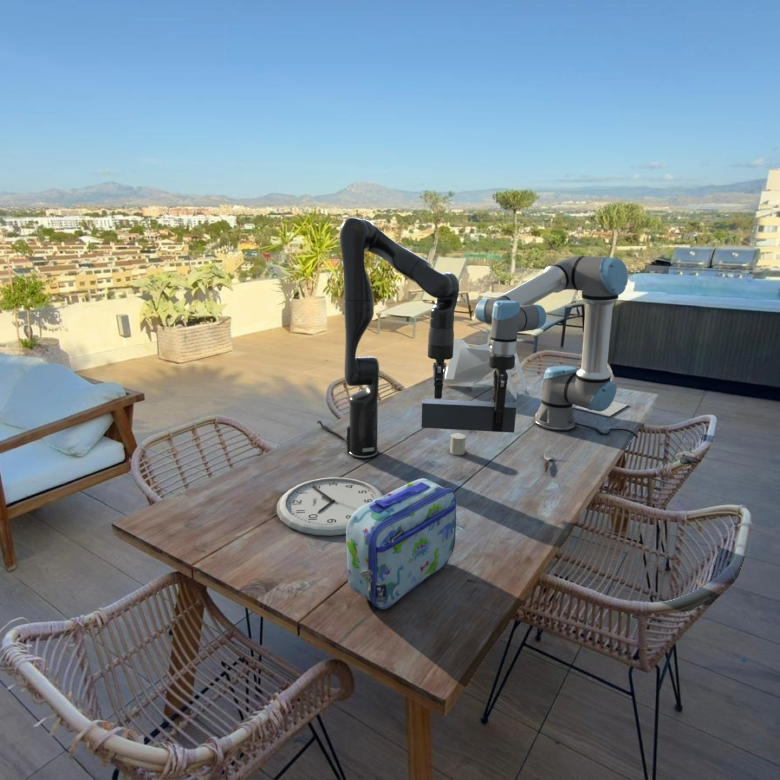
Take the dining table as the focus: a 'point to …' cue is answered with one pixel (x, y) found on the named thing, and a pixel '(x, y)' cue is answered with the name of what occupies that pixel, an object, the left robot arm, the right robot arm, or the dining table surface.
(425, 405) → the bar
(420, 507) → the lunch box
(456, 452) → the off-white cylinder
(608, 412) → the invitation card
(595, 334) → the right robot arm
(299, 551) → the dining table surface
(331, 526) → the wall clock
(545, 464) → the fork
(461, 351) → the white plastic object
